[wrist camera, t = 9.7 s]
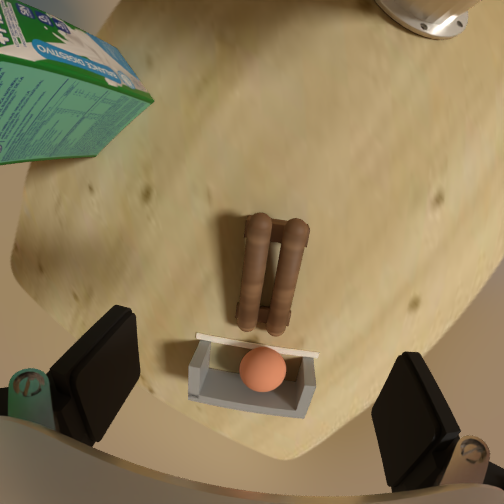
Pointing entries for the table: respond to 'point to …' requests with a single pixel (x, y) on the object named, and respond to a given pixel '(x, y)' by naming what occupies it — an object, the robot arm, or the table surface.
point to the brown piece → (256, 252)
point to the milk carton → (60, 88)
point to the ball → (262, 369)
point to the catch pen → (243, 398)
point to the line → (256, 345)
